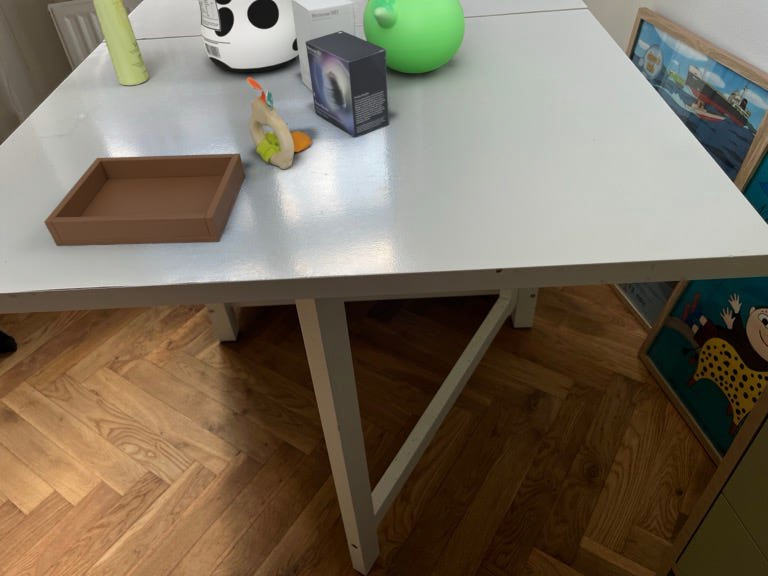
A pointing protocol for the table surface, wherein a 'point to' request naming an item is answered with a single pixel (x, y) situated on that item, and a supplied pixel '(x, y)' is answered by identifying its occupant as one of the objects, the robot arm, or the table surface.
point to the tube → (121, 42)
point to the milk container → (248, 33)
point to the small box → (349, 82)
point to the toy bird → (415, 32)
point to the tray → (149, 200)
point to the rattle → (276, 144)
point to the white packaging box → (319, 25)
